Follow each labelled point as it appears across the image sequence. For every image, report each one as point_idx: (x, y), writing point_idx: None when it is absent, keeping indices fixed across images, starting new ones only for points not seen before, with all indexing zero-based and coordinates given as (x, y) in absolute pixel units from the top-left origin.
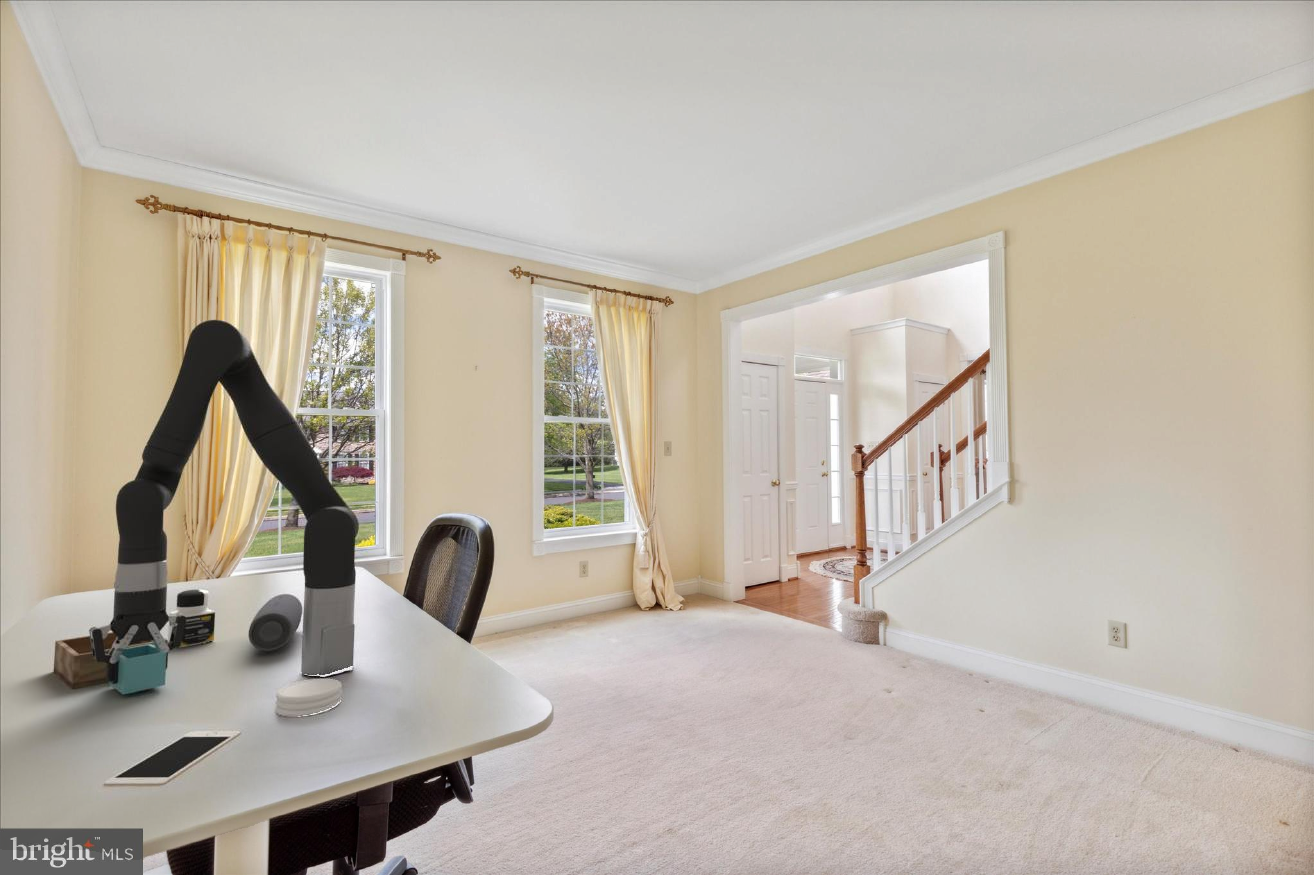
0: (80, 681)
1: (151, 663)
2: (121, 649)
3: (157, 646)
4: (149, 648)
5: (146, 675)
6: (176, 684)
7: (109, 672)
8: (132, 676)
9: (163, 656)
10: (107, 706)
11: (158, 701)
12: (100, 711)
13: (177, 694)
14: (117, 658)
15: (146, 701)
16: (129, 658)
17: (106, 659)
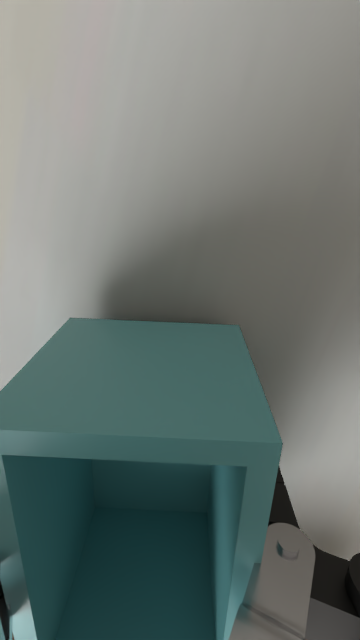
0: None
1: (98, 389)
2: (267, 619)
3: (2, 607)
4: (47, 633)
5: (139, 350)
6: (24, 357)
7: (279, 487)
8: (208, 362)
9: (6, 406)
10: (306, 274)
11: (140, 147)
12: (354, 220)
13: (48, 193)
14: (268, 550)
15: (177, 201)
16: (239, 458)
17: (326, 571)
